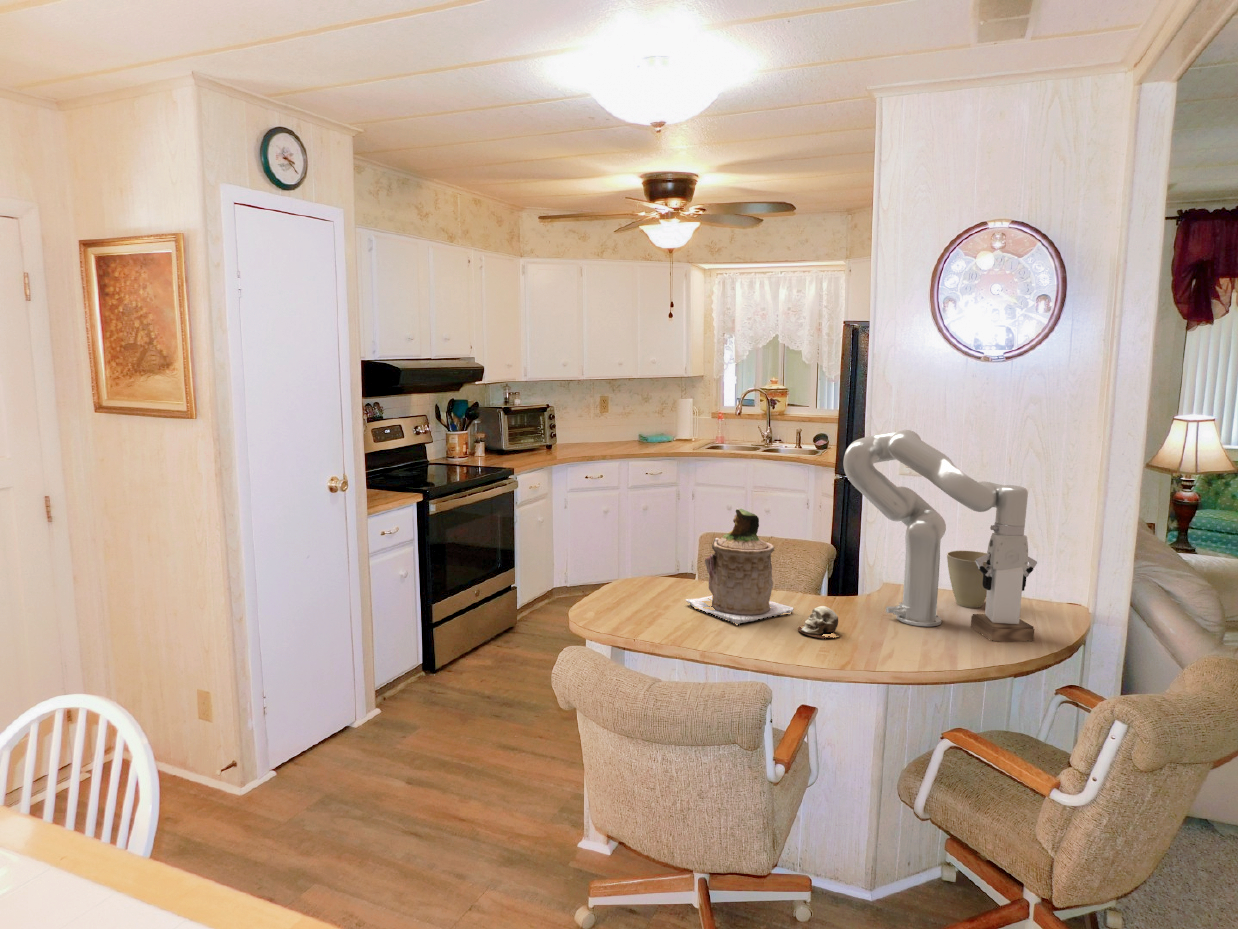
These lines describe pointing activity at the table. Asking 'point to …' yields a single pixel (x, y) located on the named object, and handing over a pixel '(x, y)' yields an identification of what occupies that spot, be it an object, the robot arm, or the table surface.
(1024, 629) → the block
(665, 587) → the table surface
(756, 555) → the cookie jar
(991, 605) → the milk carton
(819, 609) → the skull
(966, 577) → the plant pot
